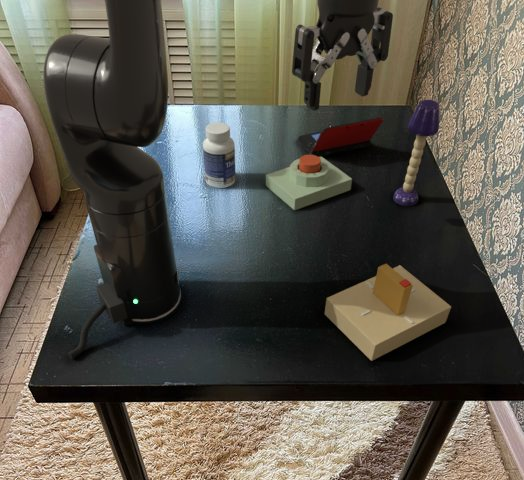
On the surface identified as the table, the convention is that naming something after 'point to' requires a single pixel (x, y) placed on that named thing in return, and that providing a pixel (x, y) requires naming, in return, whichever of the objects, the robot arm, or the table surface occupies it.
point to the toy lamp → (418, 147)
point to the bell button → (309, 164)
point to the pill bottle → (219, 156)
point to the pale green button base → (307, 184)
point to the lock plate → (385, 316)
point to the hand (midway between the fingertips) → (337, 101)
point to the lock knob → (392, 289)
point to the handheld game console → (340, 137)
